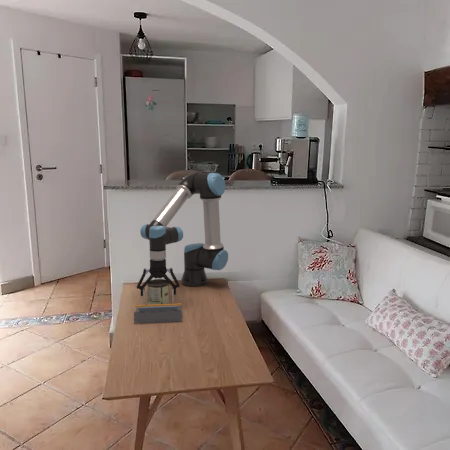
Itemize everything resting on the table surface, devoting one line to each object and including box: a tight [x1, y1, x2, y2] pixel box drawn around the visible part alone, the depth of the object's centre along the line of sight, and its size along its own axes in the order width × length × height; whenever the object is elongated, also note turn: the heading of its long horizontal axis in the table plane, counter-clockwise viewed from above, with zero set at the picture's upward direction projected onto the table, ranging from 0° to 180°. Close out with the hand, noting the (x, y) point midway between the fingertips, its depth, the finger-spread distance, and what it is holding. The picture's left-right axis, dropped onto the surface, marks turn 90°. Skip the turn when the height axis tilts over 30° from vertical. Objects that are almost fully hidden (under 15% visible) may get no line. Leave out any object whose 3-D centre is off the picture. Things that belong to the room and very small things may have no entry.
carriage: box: [134, 302, 182, 312], centre depth 197 cm, size 22×3×5 cm, turn 98°
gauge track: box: [133, 304, 183, 324], centre depth 200 cm, size 21×18×5 cm
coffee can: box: [146, 278, 170, 305], centre depth 206 cm, size 10×10×14 cm
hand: (158, 301), depth 207 cm, fingers open, 13 cm apart
